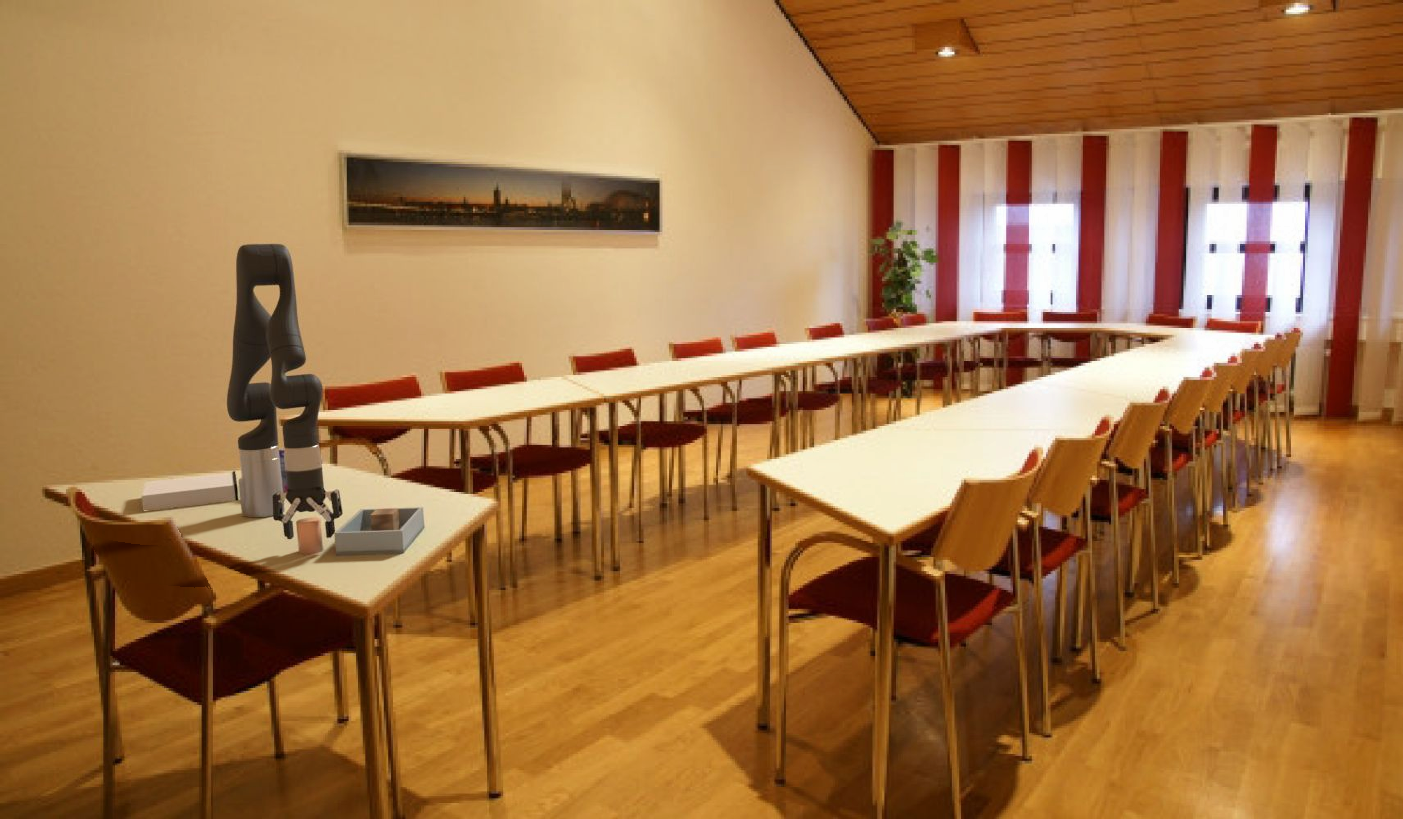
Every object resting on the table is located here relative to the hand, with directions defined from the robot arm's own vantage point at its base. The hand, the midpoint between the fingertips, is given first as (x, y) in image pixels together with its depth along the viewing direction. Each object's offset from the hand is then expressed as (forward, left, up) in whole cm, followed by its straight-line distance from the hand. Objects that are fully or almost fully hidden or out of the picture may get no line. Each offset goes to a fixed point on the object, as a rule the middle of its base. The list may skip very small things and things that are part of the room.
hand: (310, 537), depth 222 cm
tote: (+14, +6, -3) cm, 15 cm away
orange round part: (0, 0, -3) cm, 3 cm away
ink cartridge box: (-22, +58, -3) cm, 62 cm away
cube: (+14, +10, -2) cm, 17 cm away
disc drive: (-49, +52, -4) cm, 72 cm away
